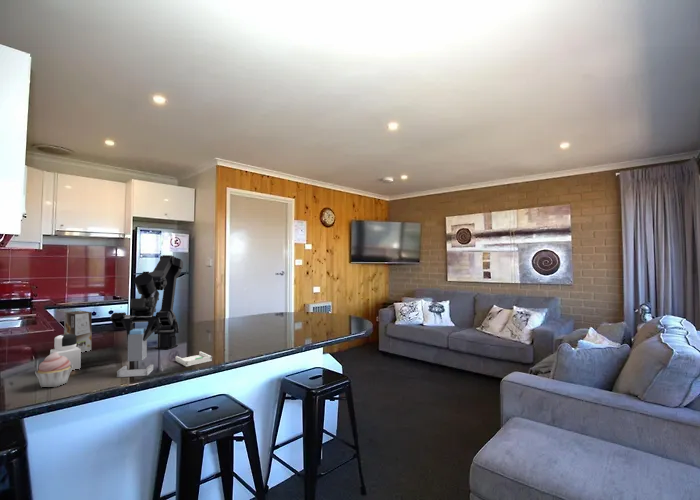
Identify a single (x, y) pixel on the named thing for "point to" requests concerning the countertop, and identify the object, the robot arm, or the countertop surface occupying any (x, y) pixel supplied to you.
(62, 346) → the medicine bottle
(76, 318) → the coffee box
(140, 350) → the fibre plug
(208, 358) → the dock tray
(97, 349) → the countertop surface
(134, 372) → the shallow white tray
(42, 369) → the cupcake
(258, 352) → the countertop surface
